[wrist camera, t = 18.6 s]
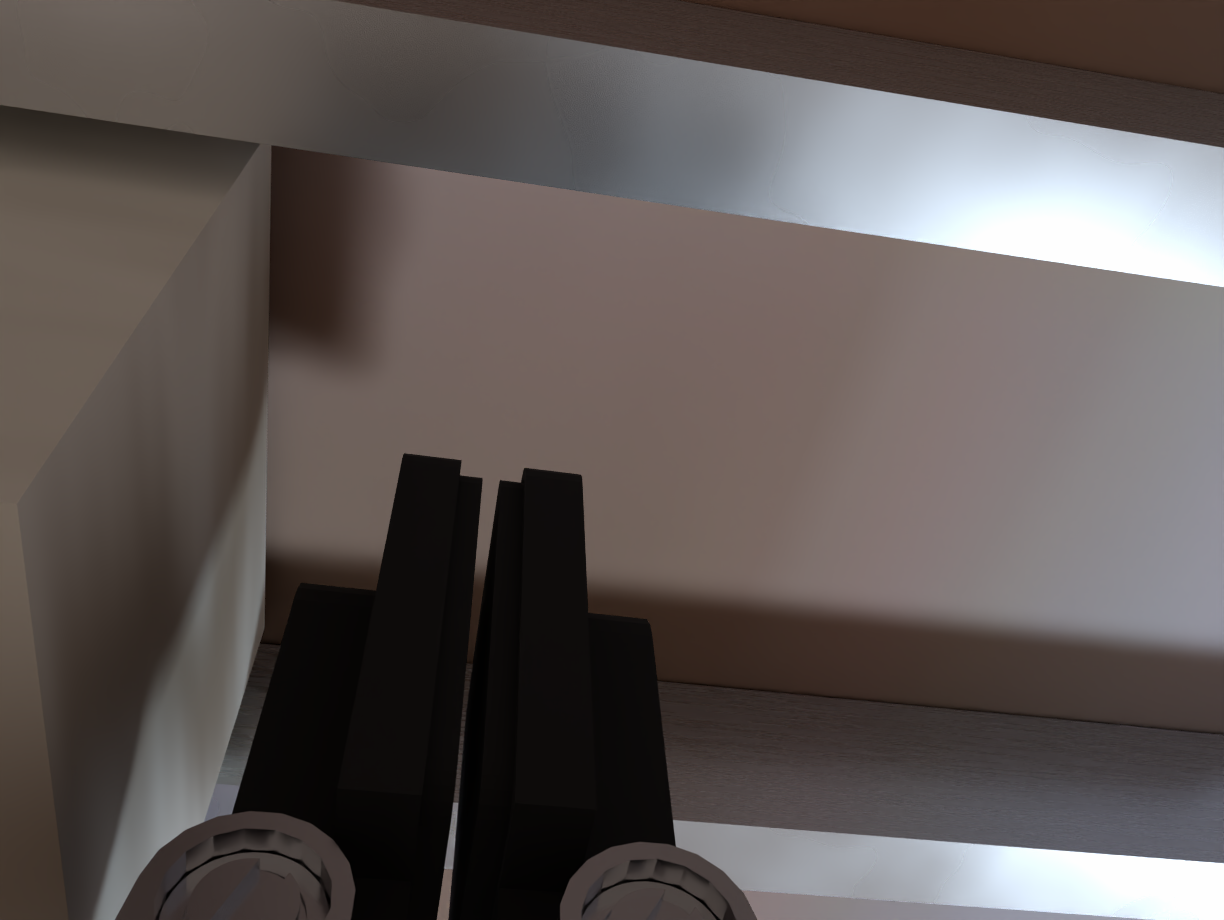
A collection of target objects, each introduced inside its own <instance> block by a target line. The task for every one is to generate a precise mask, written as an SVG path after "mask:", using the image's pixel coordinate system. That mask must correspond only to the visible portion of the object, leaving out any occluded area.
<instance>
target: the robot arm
mask: <svg viewBox="0 0 1224 920" xmlns="http://www.w3.org/2000/svg"><path fill="white" fill-rule="evenodd" d="M460 469H461V460H455V459H446V458H438V457H430V456H422V455H413V454H405V453H404V455H403V458H402V463H401V468H400V473H399V478H398V483H397V488H396V493H395V498H394V503H393V509H392V514H391V519H390V524H389V529H388V534H387V539H386V544H385V549H384V554H383V559H382V564H381V569H380V574H379V579H378V584H377V589H376V591H373V590H364V589H354V588H345V587H335V586H326V585H316V584H307V583H301V584H300V586H299V587H298V589H297V592H296V595H295V598H294V601H293V604H292V608H291V611H290V615H289V618H288V621H287V625H286V628H285V632H284V635H283V639H282V642H281V646H280V649H279V653H278V656H277V659H276V663H275V666H274V670H273V673H272V677H271V680H270V684H269V687H268V691H267V694H266V697H265V701H264V704H263V708H262V711H261V715H260V718H259V722H258V725H257V729H256V732H255V735H254V739H253V742H252V746H251V749H250V753H249V756H248V760H247V763H246V767H245V770H244V773H243V777H242V780H241V784H240V787H239V791H238V794H237V798H236V801H235V804H234V808H233V811H232V814H229V815H223V816H217V817H215V818H212V819H210V820H208V821H205V822H203V823H200V824H198V825H196V826H193V827H191V828H189V829H186V830H185V831H183V832H182V833H181V834H179V835H178V836H177V837H175V838H174V839H173V840H171V841H170V842H169V843H167V844H166V845H165V846H163V847H162V848H161V849H159V850H158V851H157V853H156V854H155V855H154V857H153V858H152V859H151V860H150V862H149V863H148V864H147V866H146V867H145V868H144V870H143V871H142V872H141V874H140V875H139V876H138V878H137V880H136V882H135V884H134V885H133V887H132V889H131V891H130V893H129V895H128V896H127V898H126V900H125V902H124V904H123V906H122V907H121V909H120V911H119V913H118V915H117V917H116V918H115V920H437V913H438V907H439V900H440V893H441V886H442V880H443V873H444V866H445V859H446V852H447V846H448V839H449V832H450V825H451V818H452V810H453V802H454V794H455V785H456V775H457V765H458V754H459V743H460V732H461V720H462V709H463V697H464V686H465V674H466V663H467V652H468V640H469V629H470V617H471V606H472V594H473V583H474V572H475V560H476V549H477V537H478V526H479V514H480V503H481V492H482V478H476V477H468V476H460ZM449 920H757V918H756V916H755V914H754V912H753V910H752V908H751V906H750V904H749V902H748V900H747V898H746V897H745V895H744V893H743V892H742V891H741V890H740V889H739V888H738V886H737V885H736V884H735V883H734V882H733V881H732V880H731V879H730V878H729V877H728V876H727V875H726V873H725V872H724V871H722V870H721V869H719V868H718V867H716V866H715V865H713V864H712V863H710V862H709V861H707V860H706V859H704V858H702V857H701V856H699V855H698V854H695V853H692V852H690V851H687V850H684V849H681V848H678V847H676V843H675V834H674V825H673V816H672V807H671V798H670V789H669V780H668V771H667V763H666V754H665V745H664V736H663V727H662V718H661V709H660V700H659V691H658V683H657V674H656V665H655V656H654V647H653V638H652V632H651V627H650V624H649V622H648V620H647V619H640V618H631V617H621V616H612V615H602V614H593V613H588V599H587V576H586V553H585V531H584V508H583V485H582V476H581V475H579V474H571V473H563V472H554V471H546V470H538V469H529V468H524V471H523V475H522V480H521V483H518V482H510V481H502V480H500V483H499V489H498V495H497V502H496V509H495V516H494V522H493V529H492V536H491V543H490V550H489V556H488V563H487V570H486V577H485V584H484V590H483V597H482V604H481V611H480V618H479V624H478V631H477V638H476V645H475V652H474V658H473V665H472V672H471V679H470V686H469V693H468V701H467V709H466V718H465V729H464V741H463V753H462V765H461V777H460V789H459V801H458V813H457V825H456V837H455V849H454V861H453V873H452V885H451V897H450V909H449Z"/></svg>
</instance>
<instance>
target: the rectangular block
mask: <svg viewBox="0 0 1224 920" xmlns="http://www.w3.org/2000/svg"><path fill="white" fill-rule="evenodd" d="M0 105H4V106H11V107H18V108H25V109H31V110H38V111H45V112H52V113H58V114H65V115H72V116H78V117H85V118H92V119H99V120H105V121H112V122H119V123H125V124H132V125H139V126H146V127H152V128H159V129H166V130H173V131H179V132H186V133H193V134H199V135H206V136H213V137H220V138H226V139H233V140H240V141H246V142H253V143H260V144H267V145H273V146H280V147H287V148H294V149H300V150H307V151H314V152H320V153H327V154H334V155H341V156H347V157H354V158H361V159H367V160H374V161H381V162H388V163H394V164H401V165H408V166H414V167H421V168H428V169H435V170H441V171H448V172H455V173H462V174H468V175H475V176H482V177H488V178H495V179H502V180H509V181H515V182H522V183H529V184H535V185H542V186H549V187H556V188H562V189H569V190H576V191H583V192H589V193H596V194H603V195H609V196H616V197H623V198H630V199H636V200H643V201H650V202H656V203H663V204H670V205H677V206H683V207H690V208H697V209H704V210H710V211H717V212H724V213H730V214H737V215H744V216H751V217H757V218H764V219H771V220H777V221H784V222H791V223H798V224H804V225H811V226H818V227H825V228H831V229H838V230H845V231H851V232H858V233H865V234H872V235H878V236H885V237H892V238H898V239H905V240H912V241H919V242H925V243H932V244H939V245H946V246H952V247H959V248H966V249H972V250H979V251H986V252H993V253H999V254H1006V255H1013V256H1019V257H1026V258H1033V259H1040V260H1046V261H1053V262H1060V263H1066V264H1073V265H1080V266H1087V267H1093V268H1100V269H1107V270H1114V271H1120V272H1127V273H1134V274H1140V275H1147V276H1154V277H1161V278H1167V279H1174V280H1181V281H1187V282H1194V283H1201V284H1208V285H1214V286H1221V287H1224V94H1220V93H1214V92H1208V91H1203V90H1197V89H1191V88H1185V87H1179V86H1174V85H1168V84H1162V83H1156V82H1150V81H1145V80H1139V79H1133V78H1127V77H1121V76H1115V75H1110V74H1104V73H1098V72H1092V71H1086V70H1081V69H1075V68H1069V67H1063V66H1057V65H1052V64H1046V63H1040V62H1034V61H1028V60H1022V59H1017V58H1011V57H1005V56H999V55H993V54H988V53H982V52H976V51H970V50H964V49H959V48H953V47H947V46H941V45H935V44H929V43H924V42H918V41H912V40H906V39H900V38H895V37H889V36H883V35H877V34H871V33H866V32H860V31H854V30H848V29H842V28H836V27H831V26H825V25H819V24H813V23H807V22H802V21H796V20H790V19H784V18H778V17H773V16H767V15H761V14H755V13H749V12H743V11H738V10H732V9H726V8H720V7H714V6H709V5H703V4H697V3H691V2H685V1H680V0H0ZM279 649H280V646H279V645H269V644H259V647H258V651H257V654H256V657H255V660H254V663H253V667H252V670H251V673H250V676H249V679H248V683H247V686H246V689H245V692H244V695H243V699H242V702H241V705H240V708H239V711H238V715H237V718H236V721H235V724H234V727H233V731H232V734H231V737H230V740H229V743H228V747H227V750H226V753H225V756H224V759H223V763H222V766H221V769H220V772H219V775H218V779H217V782H216V785H215V788H214V791H213V795H212V798H211V801H210V804H209V807H208V811H207V814H206V817H205V820H204V822H205V821H208V820H210V819H212V818H215V817H217V816H223V815H229V814H232V811H233V808H234V804H235V801H236V798H237V794H238V791H239V787H240V784H241V780H242V777H243V773H244V770H245V767H246V763H247V760H248V756H249V753H250V749H251V746H252V742H253V739H254V735H255V732H256V729H257V725H258V722H259V718H260V715H261V711H262V708H263V704H264V701H265V697H266V694H267V691H268V687H269V684H270V680H271V677H272V673H273V670H274V666H275V663H276V659H277V656H278V653H279ZM472 665H473V664H469V663H466V674H465V686H464V697H463V709H462V720H461V732H460V743H459V754H458V765H457V775H456V785H455V794H454V802H453V810H452V818H451V825H450V832H449V839H448V846H447V852H446V859H445V866H444V869H453V861H454V849H455V837H456V825H457V813H458V801H459V789H460V777H461V765H462V753H463V741H464V729H465V718H466V709H467V701H468V693H469V686H470V679H471V672H472ZM657 683H658V691H659V700H660V709H661V718H662V727H663V736H664V745H665V754H666V763H667V771H668V780H669V789H670V798H671V807H672V816H673V825H674V834H675V843H676V847H678V848H681V849H684V850H687V851H690V852H692V853H695V854H698V855H699V856H701V857H702V858H704V859H706V860H707V861H709V862H710V863H712V864H713V865H715V866H716V867H718V868H719V869H721V870H722V871H724V872H725V873H726V875H727V876H728V877H729V878H730V879H731V880H732V881H733V882H734V883H735V884H736V885H737V886H738V888H739V889H740V890H749V891H762V892H776V893H790V894H804V895H818V896H832V897H846V898H860V899H874V900H888V901H902V902H916V903H930V904H944V905H957V906H971V907H985V908H999V909H1013V910H1027V911H1041V912H1055V913H1069V914H1083V915H1097V916H1111V917H1125V918H1138V919H1152V920H1224V735H1219V734H1209V733H1198V732H1187V731H1177V730H1166V729H1156V728H1145V727H1135V726H1124V725H1114V724H1103V723H1092V722H1082V721H1071V720H1061V719H1050V718H1040V717H1029V716H1019V715H1008V714H997V713H987V712H976V711H966V710H955V709H945V708H934V707H923V706H913V705H902V704H892V703H881V702H871V701H860V700H850V699H839V698H828V697H818V696H807V695H797V694H786V693H776V692H765V691H755V690H744V689H733V688H723V687H712V686H702V685H691V684H681V683H670V682H660V681H657Z"/></svg>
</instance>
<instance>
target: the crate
mask: <svg viewBox="0 0 1224 920" xmlns="http://www.w3.org/2000/svg"><path fill="white" fill-rule="evenodd" d="M270 206H271V145H267V144H260V143H253V142H246V141H240V140H233V139H226V138H220V137H213V136H206V135H199V134H193V133H186V132H179V131H173V130H166V129H159V128H152V127H146V126H139V125H132V124H125V123H119V122H112V121H105V120H99V119H92V118H85V117H78V116H72V115H65V114H58V113H52V112H45V111H38V110H31V109H25V108H18V107H11V106H4V105H0V920H115V918H116V917H117V915H118V913H119V911H120V909H121V907H122V906H123V904H124V902H125V900H126V898H127V896H128V895H129V893H130V891H131V889H132V887H133V885H134V884H135V882H136V880H137V878H138V876H139V875H140V874H141V872H142V871H143V870H144V868H145V867H146V866H147V864H148V863H149V862H150V860H151V859H152V858H153V857H154V855H155V854H156V853H157V851H158V850H159V849H161V848H162V847H163V846H165V845H166V844H167V843H169V842H170V841H171V840H173V839H174V838H175V837H177V836H178V835H179V834H181V833H182V832H183V831H185V830H186V829H189V828H191V827H193V826H196V825H198V824H200V823H203V822H204V820H205V817H206V814H207V811H208V807H209V804H210V801H211V798H212V795H213V791H214V788H215V785H216V782H217V779H218V775H219V772H220V769H221V766H222V763H223V759H224V756H225V753H226V750H227V747H228V743H229V740H230V737H231V734H232V731H233V727H234V724H235V721H236V718H237V715H238V711H239V708H240V705H241V702H242V699H243V695H244V692H245V689H246V686H247V683H248V679H249V676H250V673H251V670H252V667H253V663H254V660H255V657H256V654H257V651H258V647H259V644H260V641H261V638H262V635H263V631H264V628H265V561H266V490H267V419H268V348H269V277H270Z"/></svg>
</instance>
